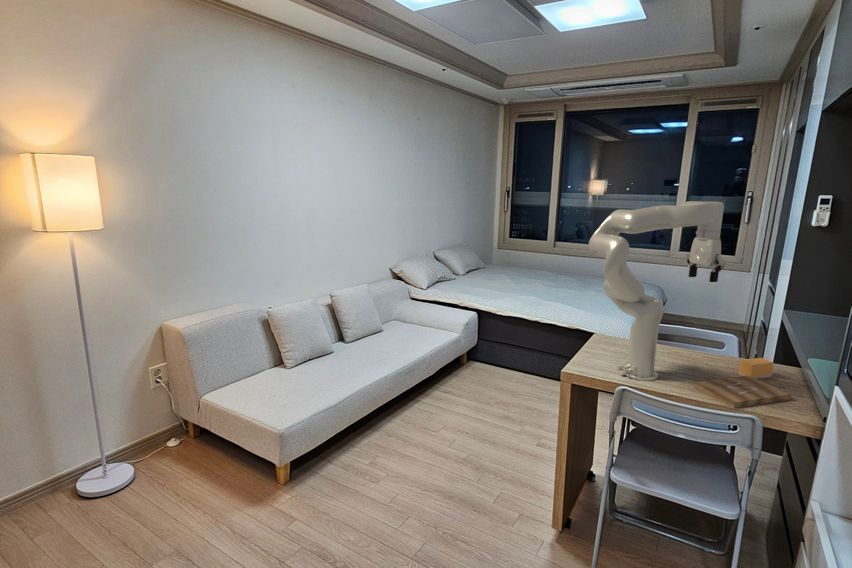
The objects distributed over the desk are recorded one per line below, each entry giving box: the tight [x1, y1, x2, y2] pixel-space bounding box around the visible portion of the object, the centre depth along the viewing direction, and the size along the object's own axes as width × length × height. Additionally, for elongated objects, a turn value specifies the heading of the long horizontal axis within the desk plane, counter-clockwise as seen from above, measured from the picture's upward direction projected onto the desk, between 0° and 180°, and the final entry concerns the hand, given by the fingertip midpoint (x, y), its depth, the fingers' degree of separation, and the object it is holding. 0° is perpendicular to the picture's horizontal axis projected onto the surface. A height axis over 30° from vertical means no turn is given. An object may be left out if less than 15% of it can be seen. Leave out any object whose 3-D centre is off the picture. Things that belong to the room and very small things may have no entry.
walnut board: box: [693, 375, 793, 409], centre depth 156 cm, size 24×16×2 cm, turn 104°
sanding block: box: [738, 357, 774, 380], centre depth 170 cm, size 10×5×6 cm, turn 103°
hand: (702, 279), depth 171 cm, fingers open, 9 cm apart
